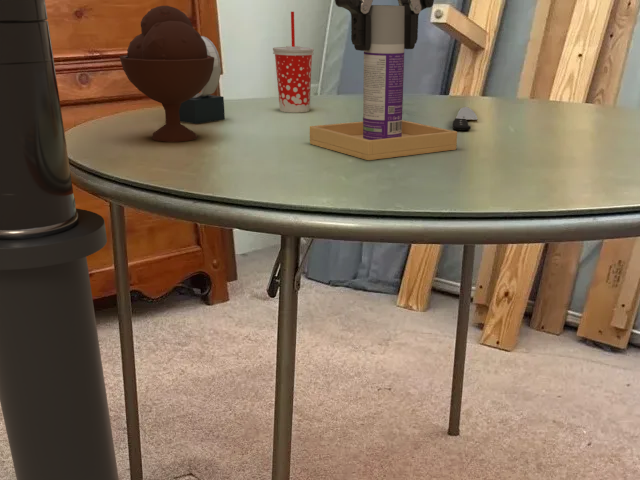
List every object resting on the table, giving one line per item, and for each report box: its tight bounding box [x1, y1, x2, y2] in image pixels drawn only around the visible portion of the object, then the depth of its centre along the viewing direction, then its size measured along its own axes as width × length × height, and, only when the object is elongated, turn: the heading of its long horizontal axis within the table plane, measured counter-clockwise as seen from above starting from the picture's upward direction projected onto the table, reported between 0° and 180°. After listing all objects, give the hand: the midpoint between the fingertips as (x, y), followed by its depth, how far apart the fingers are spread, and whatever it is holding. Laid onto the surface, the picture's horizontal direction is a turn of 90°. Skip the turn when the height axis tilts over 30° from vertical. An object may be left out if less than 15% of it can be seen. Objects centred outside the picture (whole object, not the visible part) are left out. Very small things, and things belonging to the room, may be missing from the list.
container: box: [362, 4, 405, 140], centre depth 93 cm, size 5×5×15 cm
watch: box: [179, 35, 226, 125], centre depth 110 cm, size 6×8×11 cm
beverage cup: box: [272, 11, 315, 113], centre depth 120 cm, size 6×6×14 cm
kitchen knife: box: [452, 106, 478, 131], centre depth 118 cm, size 23×3×1 cm, turn 171°
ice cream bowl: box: [119, 5, 214, 143], centre depth 96 cm, size 11×11×15 cm
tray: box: [309, 119, 458, 161], centre depth 96 cm, size 13×12×2 cm
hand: (384, 48), depth 92 cm, fingers open, 6 cm apart
